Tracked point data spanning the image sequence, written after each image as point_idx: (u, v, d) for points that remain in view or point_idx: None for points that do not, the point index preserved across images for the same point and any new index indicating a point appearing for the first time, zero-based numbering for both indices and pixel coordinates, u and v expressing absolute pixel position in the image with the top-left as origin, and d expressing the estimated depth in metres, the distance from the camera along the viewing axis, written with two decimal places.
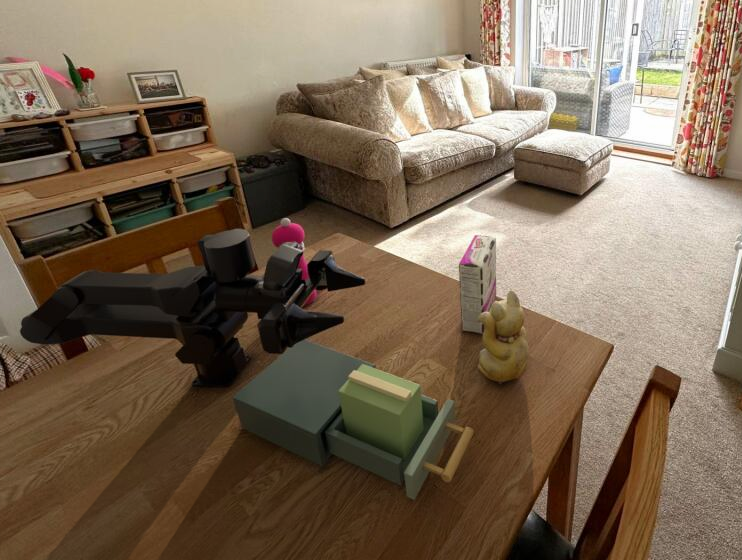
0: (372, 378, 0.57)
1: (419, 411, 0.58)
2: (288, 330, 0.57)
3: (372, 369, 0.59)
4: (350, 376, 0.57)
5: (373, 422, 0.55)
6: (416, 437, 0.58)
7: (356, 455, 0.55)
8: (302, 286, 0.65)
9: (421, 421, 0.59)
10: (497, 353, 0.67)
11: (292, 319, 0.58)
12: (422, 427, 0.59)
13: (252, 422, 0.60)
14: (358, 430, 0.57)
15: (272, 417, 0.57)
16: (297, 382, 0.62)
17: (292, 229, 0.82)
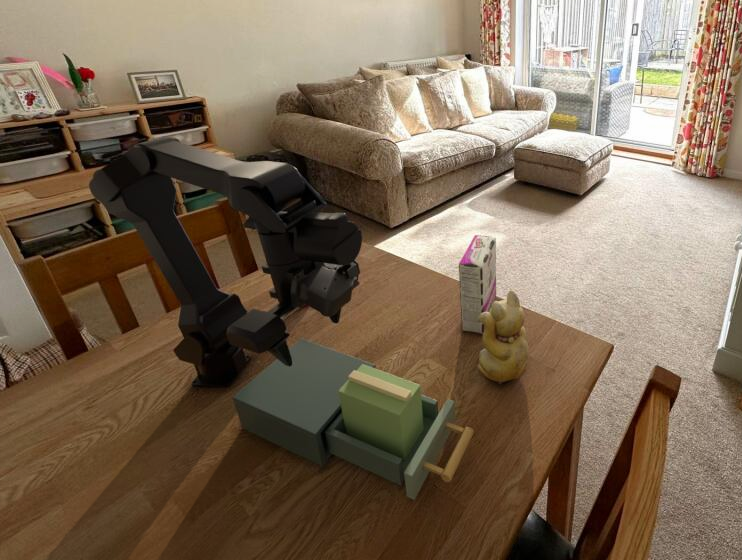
0: (372, 378, 0.57)
1: (419, 411, 0.58)
2: None
3: (372, 369, 0.59)
4: (350, 376, 0.57)
5: (373, 422, 0.55)
6: (416, 437, 0.58)
7: (356, 455, 0.55)
8: None
9: (421, 421, 0.59)
10: (497, 353, 0.67)
11: None
12: (422, 427, 0.59)
13: (252, 422, 0.60)
14: (358, 430, 0.57)
15: (272, 417, 0.57)
16: (297, 382, 0.62)
17: None
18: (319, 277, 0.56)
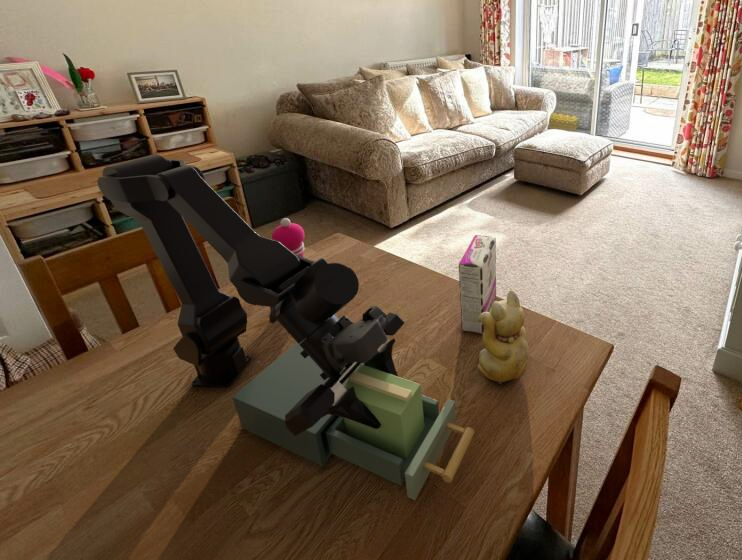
0: (372, 378, 0.56)
1: (420, 410, 0.58)
2: (331, 411, 0.51)
3: (371, 369, 0.59)
4: (349, 377, 0.57)
5: None
6: (417, 435, 0.58)
7: (357, 455, 0.55)
8: None
9: (422, 419, 0.59)
10: (497, 353, 0.67)
11: (341, 403, 0.52)
12: (423, 425, 0.60)
13: (252, 422, 0.60)
14: (359, 430, 0.57)
15: (272, 417, 0.57)
16: (297, 382, 0.62)
17: (292, 229, 0.82)
18: (347, 332, 0.55)
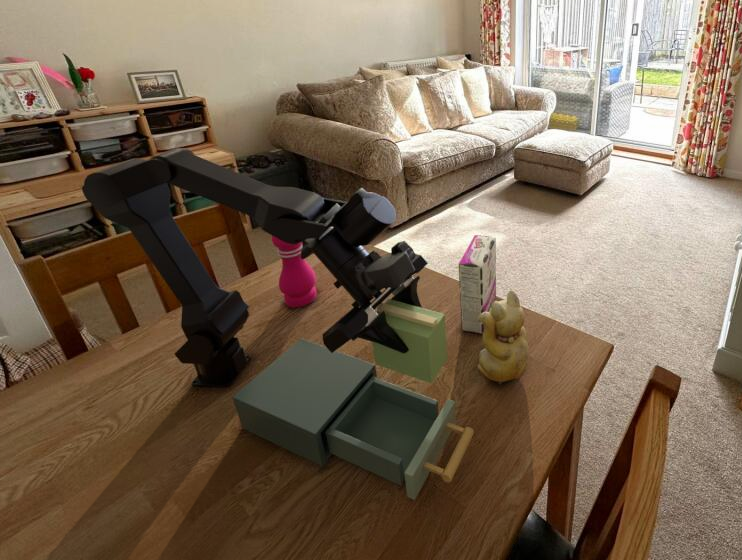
0: (399, 309, 0.60)
1: (444, 339, 0.62)
2: (364, 332, 0.56)
3: (398, 302, 0.63)
4: (379, 307, 0.61)
5: None
6: (441, 364, 0.62)
7: (356, 455, 0.55)
8: None
9: (445, 350, 0.63)
10: (497, 353, 0.67)
11: (373, 325, 0.56)
12: (446, 356, 0.64)
13: (252, 422, 0.60)
14: (387, 358, 0.61)
15: (272, 417, 0.57)
16: (297, 382, 0.62)
17: None
18: (377, 263, 0.59)
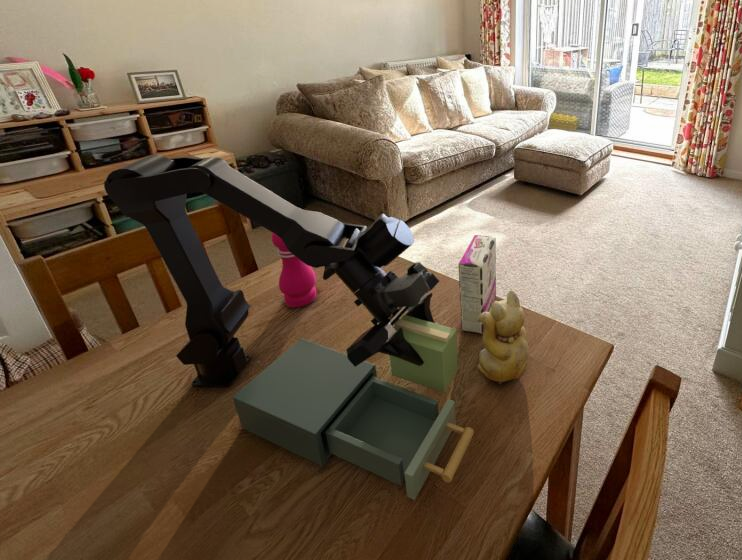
0: (415, 324, 0.66)
1: (455, 352, 0.67)
2: (384, 347, 0.61)
3: (413, 318, 0.68)
4: (396, 323, 0.66)
5: None
6: (453, 375, 0.68)
7: (356, 455, 0.55)
8: None
9: (456, 361, 0.68)
10: (497, 353, 0.67)
11: (392, 341, 0.61)
12: (457, 367, 0.69)
13: (252, 422, 0.60)
14: (403, 369, 0.67)
15: (272, 417, 0.57)
16: (297, 382, 0.62)
17: None
18: (395, 283, 0.64)
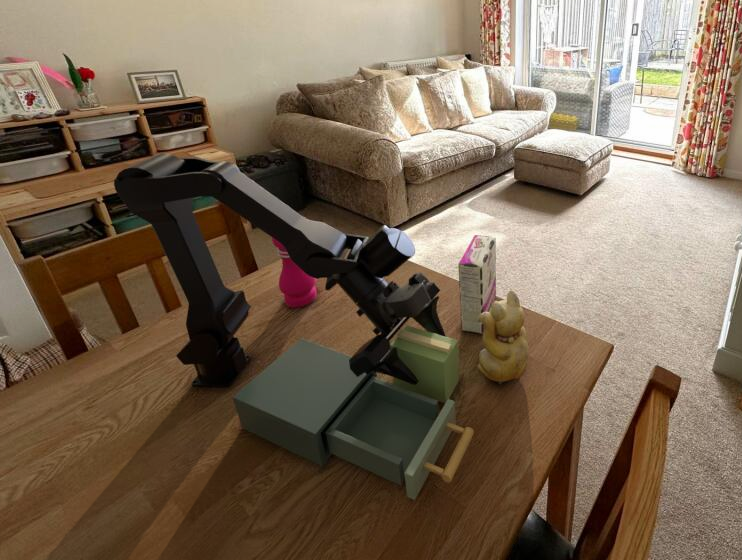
0: (417, 335, 0.67)
1: (456, 363, 0.68)
2: (377, 367, 0.60)
3: (415, 329, 0.69)
4: (398, 334, 0.67)
5: (419, 371, 0.66)
6: (454, 385, 0.69)
7: (356, 455, 0.55)
8: (405, 318, 0.67)
9: (458, 372, 0.69)
10: (497, 353, 0.67)
11: (386, 360, 0.60)
12: (458, 378, 0.70)
13: (252, 422, 0.60)
14: None
15: (272, 417, 0.57)
16: (297, 382, 0.62)
17: None
18: (397, 293, 0.65)
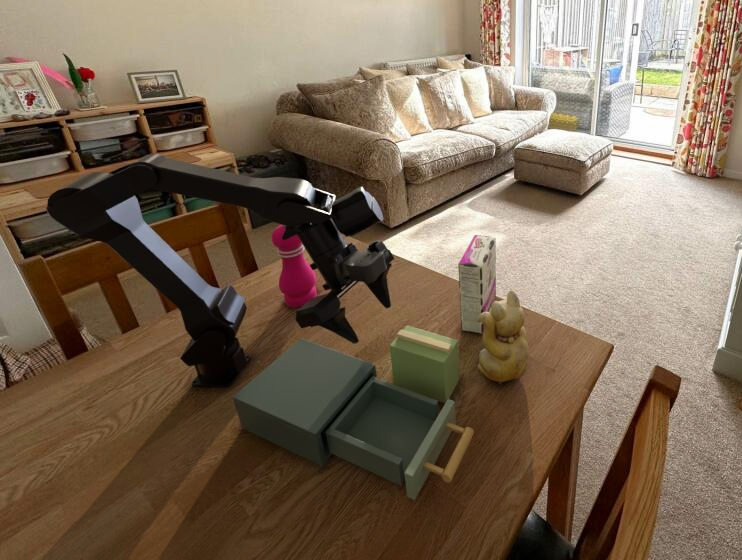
0: (417, 335, 0.67)
1: (456, 363, 0.68)
2: (323, 323, 0.62)
3: (415, 329, 0.69)
4: (398, 334, 0.67)
5: (419, 371, 0.66)
6: (454, 385, 0.69)
7: (356, 455, 0.55)
8: None
9: (458, 372, 0.69)
10: (497, 353, 0.67)
11: None
12: (458, 378, 0.70)
13: (252, 422, 0.60)
14: (405, 380, 0.68)
15: (272, 417, 0.57)
16: (297, 382, 0.62)
17: None
18: (355, 257, 0.66)
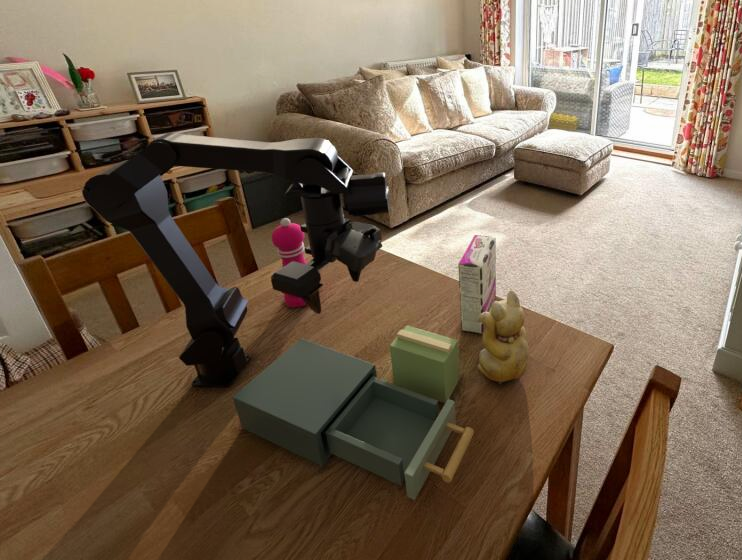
0: (417, 335, 0.67)
1: (456, 363, 0.68)
2: None
3: (415, 329, 0.69)
4: (398, 334, 0.67)
5: (419, 371, 0.66)
6: (454, 385, 0.69)
7: (356, 455, 0.55)
8: None
9: (458, 372, 0.69)
10: (497, 353, 0.67)
11: None
12: (458, 378, 0.70)
13: (252, 422, 0.60)
14: (405, 380, 0.68)
15: (272, 417, 0.57)
16: (297, 382, 0.62)
17: (292, 229, 0.82)
18: (349, 238, 0.65)
